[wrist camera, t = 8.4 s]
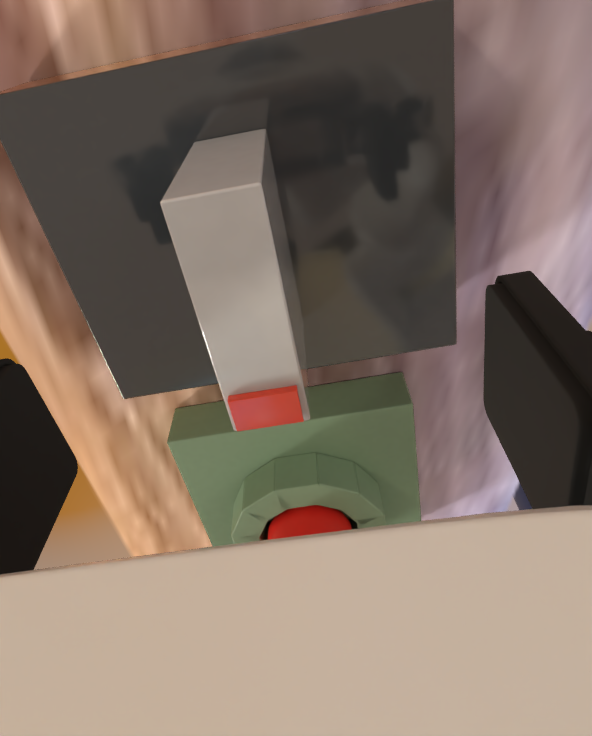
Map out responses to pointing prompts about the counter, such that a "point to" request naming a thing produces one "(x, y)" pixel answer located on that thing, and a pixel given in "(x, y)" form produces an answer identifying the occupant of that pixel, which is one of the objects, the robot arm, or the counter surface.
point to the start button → (307, 522)
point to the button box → (303, 460)
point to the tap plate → (293, 176)
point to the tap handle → (241, 277)
